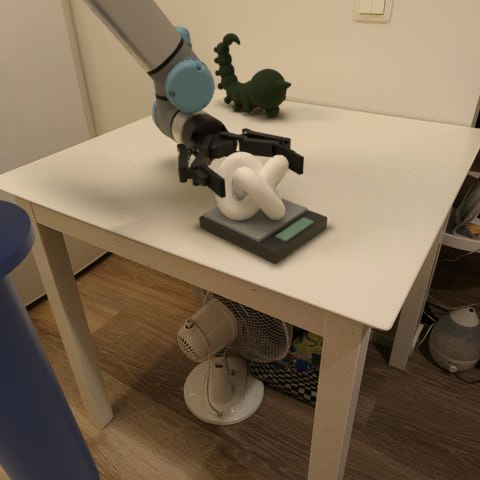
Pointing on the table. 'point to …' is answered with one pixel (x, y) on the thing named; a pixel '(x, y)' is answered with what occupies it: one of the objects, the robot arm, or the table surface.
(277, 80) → the toy figurine
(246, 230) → the scale
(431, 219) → the table surface
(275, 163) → the white knot sculpture
